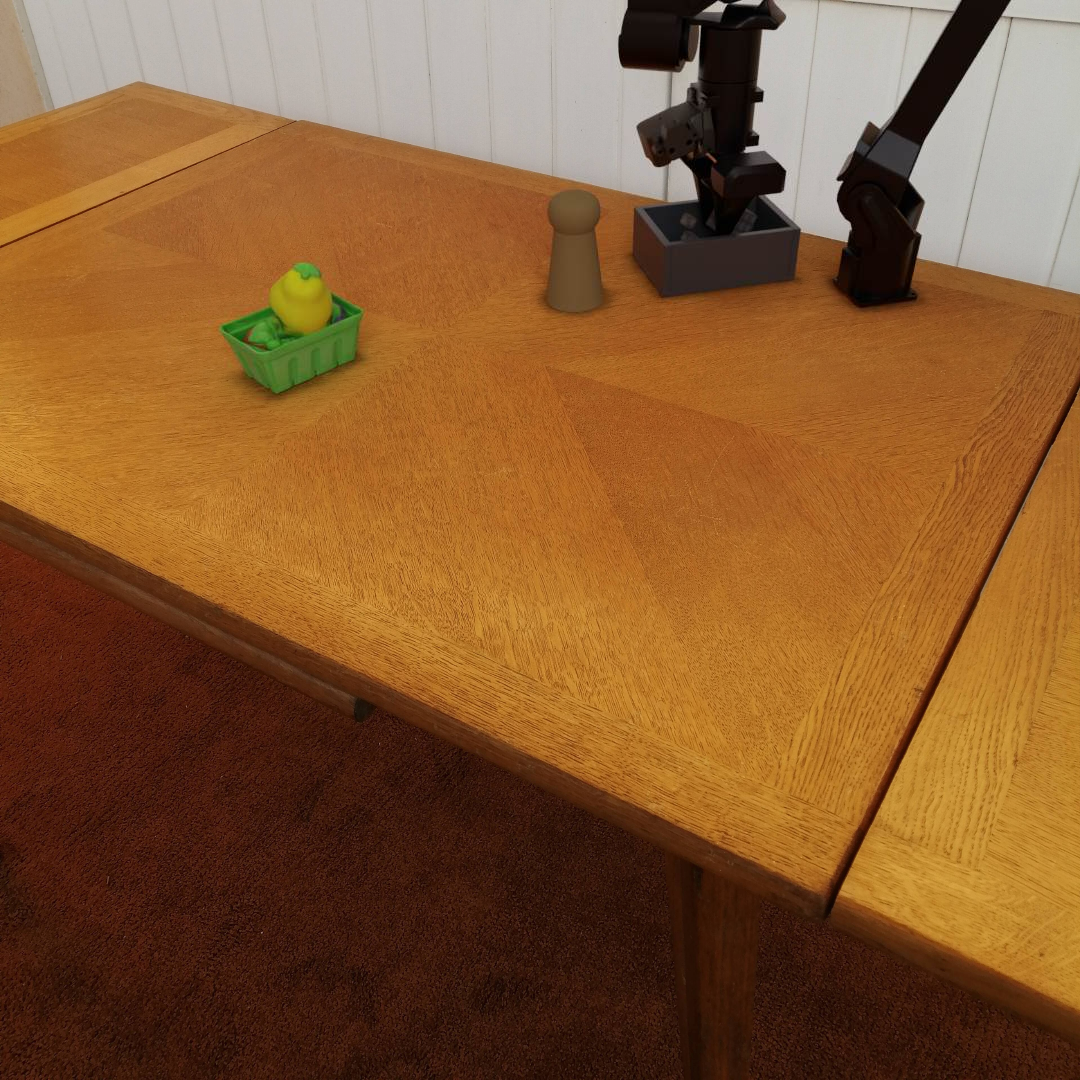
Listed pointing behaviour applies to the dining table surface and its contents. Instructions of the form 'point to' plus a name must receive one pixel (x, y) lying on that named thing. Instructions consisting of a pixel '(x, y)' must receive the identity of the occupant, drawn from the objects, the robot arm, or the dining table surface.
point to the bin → (713, 249)
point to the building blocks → (689, 221)
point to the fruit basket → (295, 331)
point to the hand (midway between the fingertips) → (714, 232)
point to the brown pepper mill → (574, 252)
